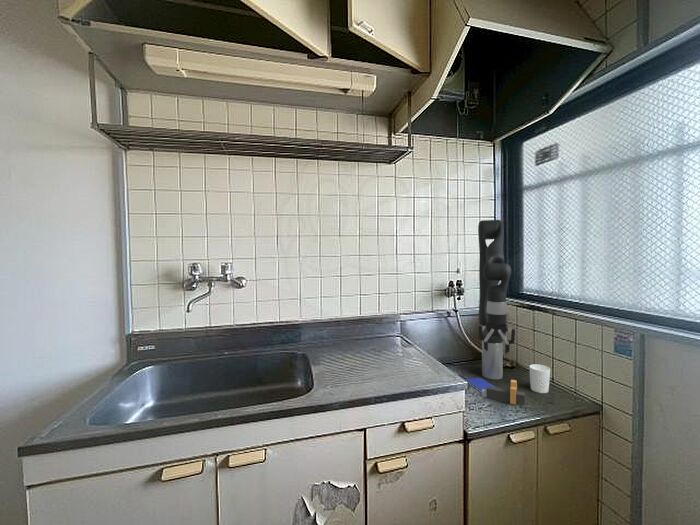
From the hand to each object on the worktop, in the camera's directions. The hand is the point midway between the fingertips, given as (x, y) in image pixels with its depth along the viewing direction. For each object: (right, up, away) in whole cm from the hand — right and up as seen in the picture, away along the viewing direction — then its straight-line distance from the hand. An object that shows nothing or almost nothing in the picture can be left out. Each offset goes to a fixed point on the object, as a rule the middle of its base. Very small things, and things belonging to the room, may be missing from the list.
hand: (496, 351), depth 137 cm
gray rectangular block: (+3, -20, -1) cm, 20 cm away
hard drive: (-1, -20, +13) cm, 24 cm away
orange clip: (+6, -20, -2) cm, 21 cm away
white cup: (+22, -19, +8) cm, 30 cm away
